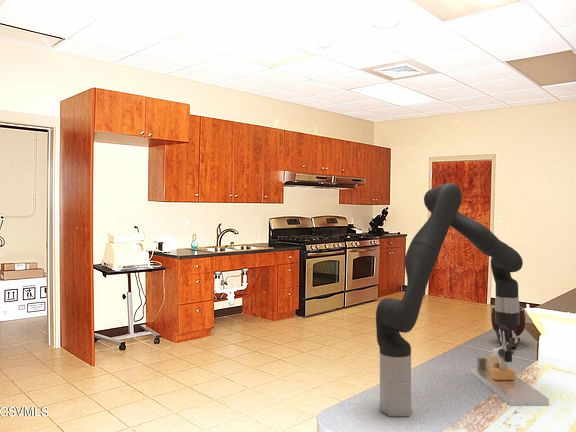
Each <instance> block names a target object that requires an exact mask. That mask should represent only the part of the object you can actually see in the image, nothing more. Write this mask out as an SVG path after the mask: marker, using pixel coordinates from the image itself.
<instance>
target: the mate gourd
mask: <svg viewBox="0 0 576 432" xmlns="http://www.w3.org/2000/svg"><path fill="white" fill-rule="evenodd" d="M519 312H520V324H519V325H517V326H515V329H516V337H519V336H520V335H521V334H522V333H523V332H524V330H525V327H526V315H525V309H524V307H522V306H519ZM490 315H491V316H490V321H491V326H492V329H493V330H494V331H495V333H496V330H499V324H497V323H496V322H495V304H494V305H492V308H491V313H490ZM492 344H493V346H494V347H496V348H500V347H501V346H500V344H499V341H498V340H494V341H493V343H492ZM523 348H524V344H522V343H521V342H519V344H518V346H517V348H516V350H521V349H523Z"/></svg>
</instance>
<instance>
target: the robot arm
mask: <svg viewBox="0 0 576 432" xmlns="http://www.w3.org/2000/svg"><path fill="white" fill-rule="evenodd" d="M462 202H463V193H462V190H461V188H460V187H459V185H457V184H456V183H452V182H448V183H442V184H441V185H438V186H435V187H433V188H430V189H429V190H428V191H426V193H425V194H424V196H423V203H424V206H425V208H426V210H427V211H429V212H430V213H431V215H430V216H429V218H428V219H427V221H426V222H425V223H424V224H423V225H422V226H421V227H420V229H419V230H418V231H417V232H416V234H415V235H414V237H413V238H412V239H411V241H410V244H409V246H408V249H407V251H406V253H405V256H404V269H405V273H406V279H407V284H406V288H405V291H404V294H403V295H402V296H403V297H402V299H396V298H391V297H385V298H383V299H381V300H380V301H379V302H378V304H377V307H376V310H375V311H376V312H375V326H376V328H375V329H376V342H377V345H378V348H379V410H380V411H381V412H382V413H383V414H385V415H387V417H410V416H411V413H412V345H411V344H410V342H408V340H406V339H405V338H404V337H403V336H402V335H401V333H404V334H406V333H409V332H411V331H412V330H413V328H414V327H415V325H416V323H417V321H418V318H419V315H420V314H419V313H420V311H421V307H422V302H423V298H424V296H425V291H426V289H427V286H428V284H429V280H430V277H431V275H432V272H433V270H434V267H435V266H436V263H437V261H438V258H439V256H440V253H441V249H442V246H443V244H444V241H445V239H446V236H447V235H448V232H449V229H450V227H451V228H453V229H454V230H455V231H456V232H458V233H460V234H461V235H462V236H463V237H465V238H466V239H467V240H468V241H469V242H470V243H471V244H472V245H473V246H474V247H475V248H476V249H478V251H480V252H481V253H482V254H483V255H485V256H488V257H491V258H490V269H491V273H492V277H493V281H494V282H495V284H494V285H495V299H494V305H495V322H496V323H497V324H499V330H496V332H495V334H496V338H497V341H499V344H500V346H502V349H503V357H504V361H505V362H507V363H512V362H513V352H514V351H516V350H517V349H516V348H517V346H518V344H519V343H521V338H520V337H519V336H516V329H515V326H517V325H519V324H520V312H519V307H520V299H519V282H518V281H517V280H516V279H514V278H513V277H512V274H511V273H516V272H519V271H520V270H521V269H522V268H523V264H524V261H523V258H522V256H521V254H520V253H518V251H517V250H515V249H514V248H513V247H512V246H509V244H507V243H505V242H503V241H502V240H501V239H499V238H498V237H497V236H496V234H494V232H492V231H491V230H490V229H489V228H488V227H487V226H486V225H484V224H482V223H480V222H479V221H477V220H474V219H472V218H470V217H468V216H466V215H465V214H463V213H462V212H460V211H459V209H460V207H461V204H462ZM513 350H514V351H513ZM512 351H513V352H512Z"/></svg>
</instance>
